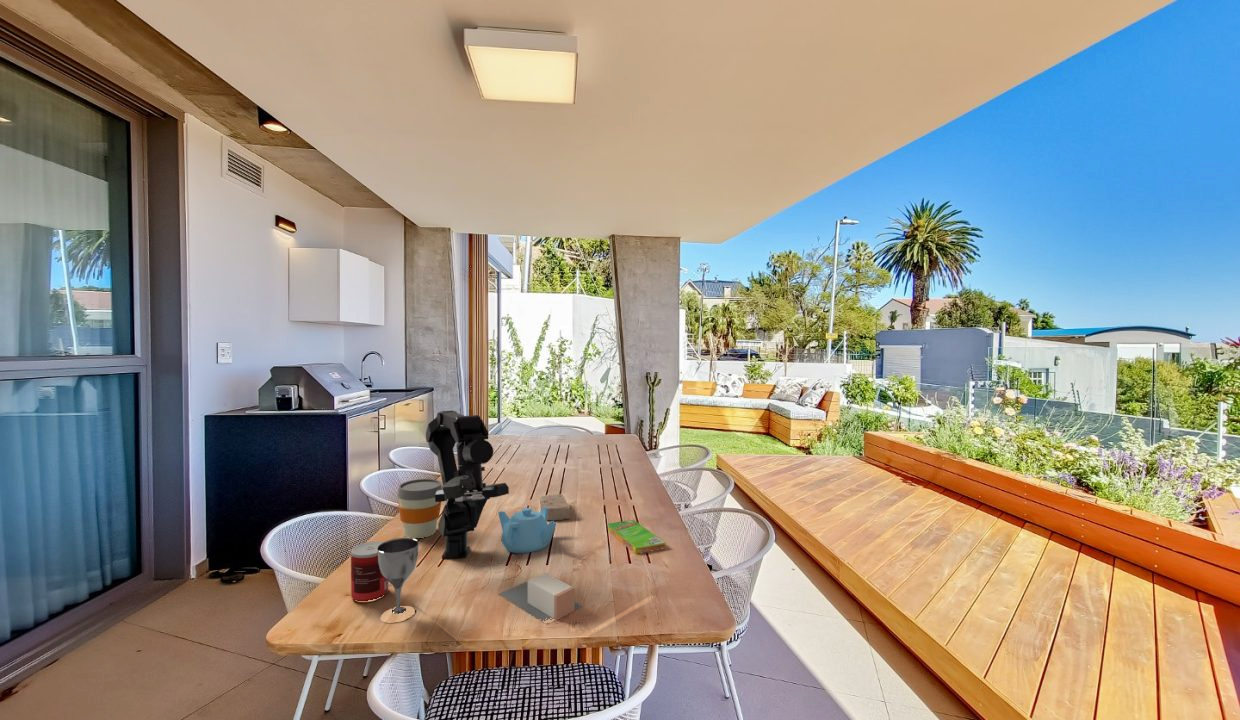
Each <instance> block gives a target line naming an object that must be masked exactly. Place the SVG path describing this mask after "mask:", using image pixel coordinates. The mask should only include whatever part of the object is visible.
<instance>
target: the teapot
mask: <svg viewBox="0 0 1240 720" xmlns="http://www.w3.org/2000/svg"><path fill="white" fill-rule="evenodd" d="M547 515H548V507H544V508H542V509H541V510H540V512H539V511H537V510H532V508H531V507H524V508H522V509H521V510H520V511H517V512H514V513H513V514H512V515H511V516H510V517H509V516H508V515H507V513H506V511H503V510H500V511H498V518H499V522H500V525H501V530H502V533H501V534H502V535H501V538H500V541H501V543H502V546H503V547H504V548H505V549H506V550H507V551H508V552H510V553H513V554H519V555H520V554H522V553H523V554H524V553H525V554H526V553H534V552H538V551H541V550H543V549H545V548H546V547H547V546H548V545H549V544H550V542H551V541H552V537H553V535H554V532H555V529H556V526H557V522H556V521H554V520H553V521H552V520H550V521H549V522H548V520H547Z"/></svg>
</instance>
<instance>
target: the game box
mask: <svg viewBox="0 0 1240 720" xmlns="http://www.w3.org/2000/svg"><path fill="white" fill-rule="evenodd" d="M606 526H607V530H608V533H609V534H611V535H612V536H613V537H614V538H616V540H618V541H619V542H620V543H621V542H622V544H623V545H624V546H625V547H626V548H627V549H628V548H629V551H631V552H632V551H633V552H634V553H635V554H634V553H633V552H632V553H633V554H634V555H639V554H638V553H641V552H646V553H648V552H647V551H651V550H656V551H658V550H657V549H661V548H664V547H665V548H666V542H665V541H664V540H663V539H662V538H660V537H658V536H657V535H655V534H654V533H652V531H650V530H649V529H647V528H646V527H644V526H643V525H642V524H640V523H638V521H636V520H634V519H629V520H624V521H617V522H610V523H609V522H608V523H607V524H606ZM661 550H662V549H661ZM651 552H652V551H651ZM641 554H642V553H641Z"/></svg>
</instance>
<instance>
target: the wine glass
mask: <svg viewBox="0 0 1240 720" xmlns="http://www.w3.org/2000/svg"><path fill="white" fill-rule="evenodd" d="M382 542H383V543H381V544H380V545H379V546H378V551H377V554H378V565H379V569H380V572H381V574H382V576H383V577H384V578H385V579H386V580H388V583H390V584H391V585H392V586H393V589H394V593H395V599H396V601H395V602H396V605H395V606H396V608H395V609H394V610H392V613H394V614H399V613H403V612H404V611H406V608H404V607H400V605H401V596H402V595H401V593H402V590H403V585H404V584H405V582H406V581H407V579H409V577H410V576H412V574H413V572H414V571H415V569H416V566H417V563H418V558H419V557H418V556H419V541H418V539H413V538H406V537H398V538H397V537H395V538H392V539H388V540H386V541H382Z"/></svg>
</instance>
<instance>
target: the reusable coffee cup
mask: <svg viewBox="0 0 1240 720" xmlns="http://www.w3.org/2000/svg"><path fill="white" fill-rule="evenodd" d="M442 486H443V485H442V481H440V480H437V479H435V478H434V479H433V478H421V479H419V478H418V479H412V480H407V481H404V482H402V483H399V486H398V490H397V497H398V499H399V503H398V511H399V512H398V513H399V520H400V521H401V522H402V523H401V524H402V528H403V536H404V535H405V536H406V537H410V538H423V539H425V538H424V537H427V538H429V537H428V536H430V537H431V535H432V536H434V535H435V534H436V530H437V526H438V524H437V523H438V519H439V517H440V512H441V505H442V502H435V494H436V492H437V490H442ZM434 533H435V534H434ZM405 536H404V537H405ZM406 537H405V538H406Z"/></svg>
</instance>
